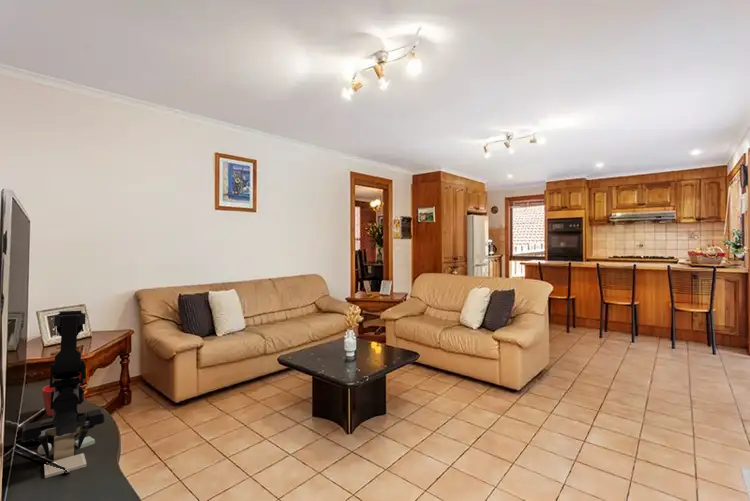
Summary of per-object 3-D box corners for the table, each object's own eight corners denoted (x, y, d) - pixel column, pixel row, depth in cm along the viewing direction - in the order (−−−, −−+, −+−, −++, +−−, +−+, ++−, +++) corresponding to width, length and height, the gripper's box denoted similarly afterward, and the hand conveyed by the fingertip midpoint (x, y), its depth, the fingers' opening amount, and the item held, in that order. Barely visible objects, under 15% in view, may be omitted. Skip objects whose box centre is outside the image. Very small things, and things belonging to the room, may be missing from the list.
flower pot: (39, 410, 141) (40, 384, 141) (76, 403, 149) (77, 378, 149) (42, 421, 134) (43, 393, 133) (81, 412, 141) (82, 386, 141)
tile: (74, 445, 120) (74, 441, 120) (89, 440, 123) (89, 436, 123) (80, 449, 118) (80, 445, 118) (94, 444, 121) (95, 439, 121)
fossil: (90, 418, 125) (52, 421, 118) (90, 432, 123) (51, 436, 116) (80, 430, 129) (42, 434, 121) (79, 443, 126) (40, 448, 119)
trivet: (43, 466, 108) (44, 463, 108) (83, 455, 114) (83, 452, 114) (44, 478, 103) (45, 474, 103) (86, 466, 109) (86, 463, 109)
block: (53, 455, 114) (54, 436, 114) (72, 450, 117) (73, 432, 117) (54, 461, 110) (54, 443, 110) (73, 456, 113) (74, 438, 113)
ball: (37, 453, 114) (37, 442, 114) (51, 449, 116) (51, 439, 116) (37, 457, 112) (37, 447, 112) (51, 454, 114) (52, 443, 114)
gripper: (23, 418, 101) (20, 476, 101) (108, 402, 114) (105, 453, 114) (23, 404, 109) (21, 458, 110) (102, 390, 122) (100, 438, 122)
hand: (63, 452), depth 114 cm, fingers open, 7 cm apart
